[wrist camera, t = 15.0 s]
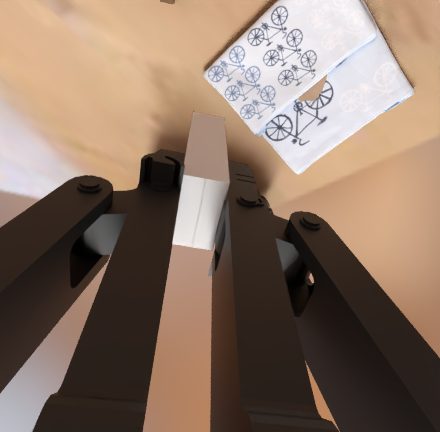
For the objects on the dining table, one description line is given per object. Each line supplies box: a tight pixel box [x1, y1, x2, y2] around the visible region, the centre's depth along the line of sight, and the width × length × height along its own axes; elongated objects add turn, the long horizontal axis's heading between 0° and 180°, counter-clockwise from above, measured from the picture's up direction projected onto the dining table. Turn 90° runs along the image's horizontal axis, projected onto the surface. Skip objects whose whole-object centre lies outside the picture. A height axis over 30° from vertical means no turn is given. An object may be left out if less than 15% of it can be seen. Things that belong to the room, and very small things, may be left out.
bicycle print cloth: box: [203, 0, 415, 174], centre depth 43 cm, size 19×20×2 cm
